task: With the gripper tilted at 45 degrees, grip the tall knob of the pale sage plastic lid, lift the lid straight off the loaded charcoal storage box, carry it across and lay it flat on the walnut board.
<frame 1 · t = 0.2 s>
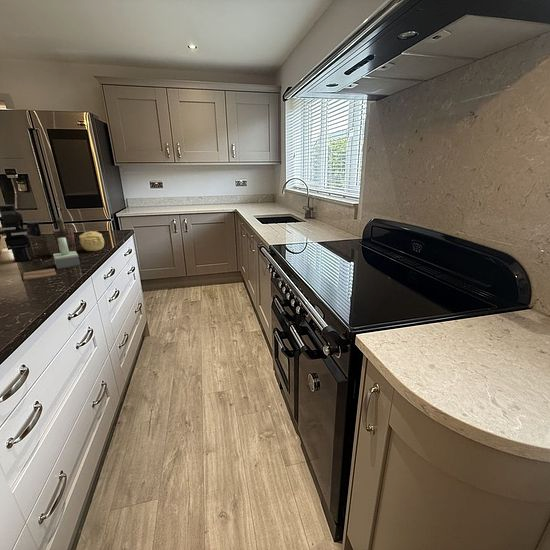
hand: (14, 234, 127), 17 cm above the worktop, tool horizontal, fingers open, 9 cm apart
lid: (66, 257, 141), point 4 cm above the worktop, touching storage box
walnut board: (40, 274, 129), on the worktop
storage box: (68, 265, 142), on the worktop
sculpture: (94, 250, 170), on the worktop
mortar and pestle: (69, 254, 162), on the worktop
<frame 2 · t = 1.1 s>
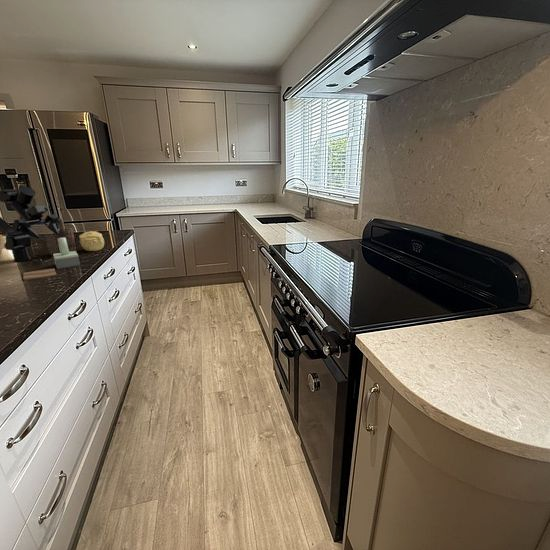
hand: (48, 236, 140), 14 cm above the worktop, tool tilted 45°, fingers open, 9 cm apart
nothing on the worktop moved.
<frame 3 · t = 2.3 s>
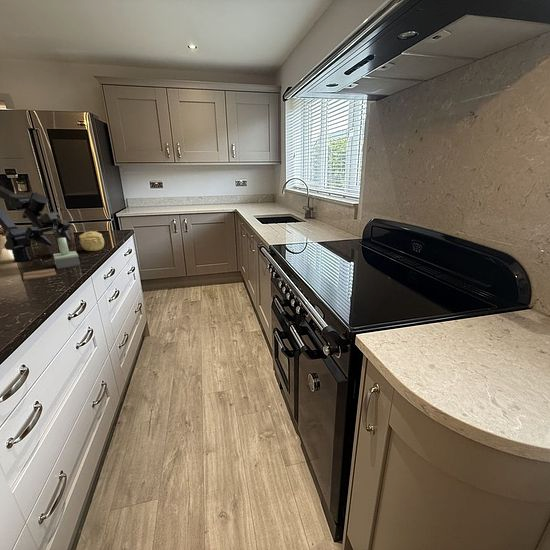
hand: (61, 243, 139), 11 cm above the worktop, tool tilted 45°, fingers open, 9 cm apart
nothing on the worktop moved.
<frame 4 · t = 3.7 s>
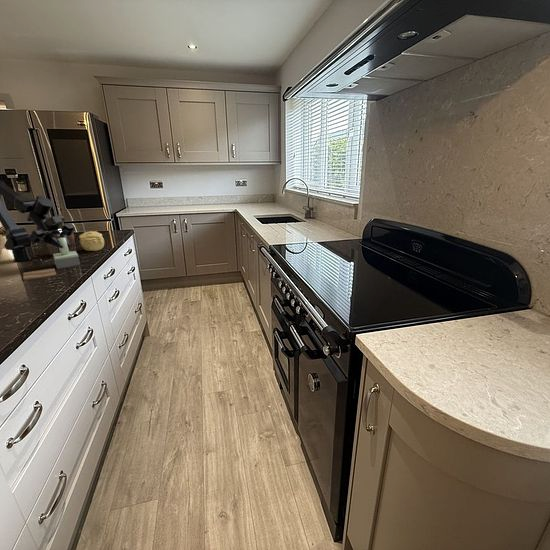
hand: (65, 246, 139), 9 cm above the worktop, tool tilted 45°, fingers closed on lid, 3 cm apart
lid: (66, 257, 141), point 4 cm above the worktop, touching gripper, storage box
everything else where it was.
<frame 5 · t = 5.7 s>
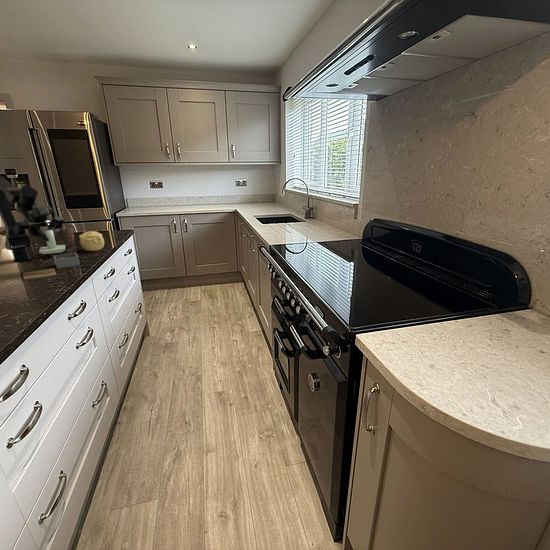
hand: (52, 239, 131), 14 cm above the worktop, tool tilted 45°, fingers closed on lid, 3 cm apart
lid: (53, 251, 133), point 8 cm above the worktop, touching gripper
everything else where it was.
when the fingers open (7 cm above the worktop, at t = 7.9 s): lid drops 2 cm, resting on walnut board.
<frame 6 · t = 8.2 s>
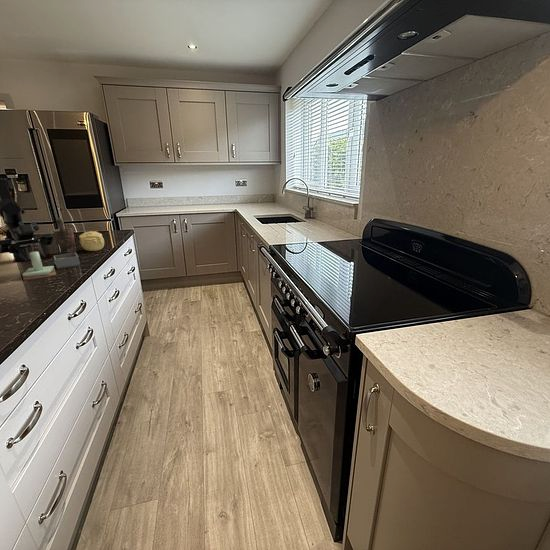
hand: (36, 258, 126), 8 cm above the worktop, tool tilted 45°, fingers open, 6 cm apart
lid: (39, 273, 129), point 1 cm above the worktop, touching walnut board
everything else where it was.
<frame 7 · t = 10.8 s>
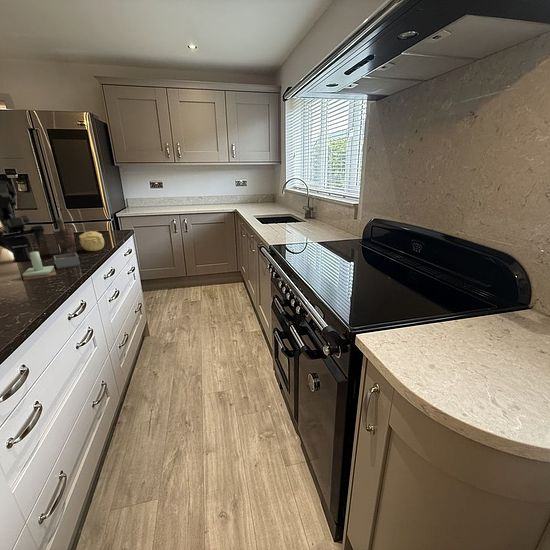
hand: (27, 250, 129), 10 cm above the worktop, tool tilted 40°, fingers open, 9 cm apart
nothing on the worktop moved.
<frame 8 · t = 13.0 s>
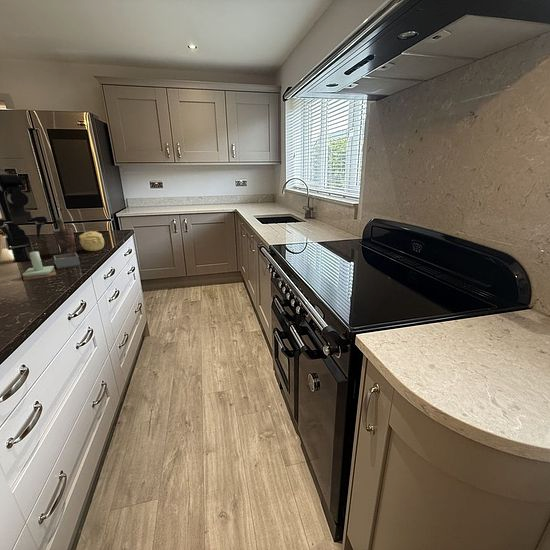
hand: (25, 240, 134), 13 cm above the worktop, tool pointing down, fingers open, 9 cm apart
nothing on the worktop moved.
at the end: lid 0.0 cm off-centre on the walnut board, point 0.6 cm above the walnut board's base; lid tilted 0°; the gripper is holding nothing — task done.
